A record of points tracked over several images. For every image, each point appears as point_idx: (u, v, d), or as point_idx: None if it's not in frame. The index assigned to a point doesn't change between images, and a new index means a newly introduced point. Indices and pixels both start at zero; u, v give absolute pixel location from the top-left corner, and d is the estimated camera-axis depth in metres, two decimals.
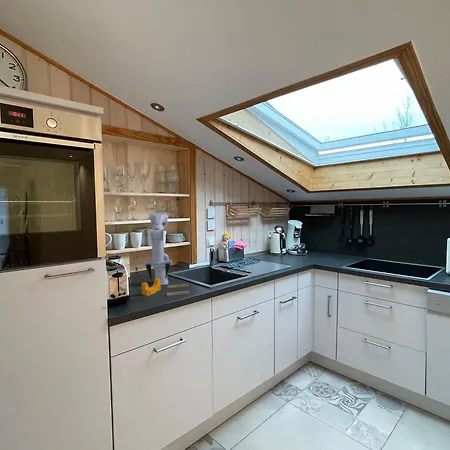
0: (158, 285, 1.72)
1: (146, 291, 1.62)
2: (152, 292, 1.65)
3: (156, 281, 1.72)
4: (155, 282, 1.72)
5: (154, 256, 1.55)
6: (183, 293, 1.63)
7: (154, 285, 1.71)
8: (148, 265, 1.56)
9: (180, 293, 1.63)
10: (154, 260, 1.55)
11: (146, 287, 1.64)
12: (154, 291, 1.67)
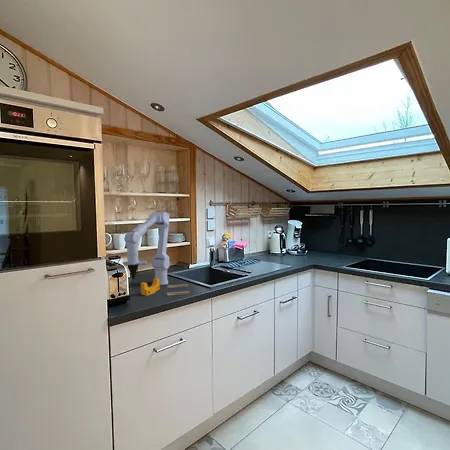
0: (157, 285, 1.72)
1: (145, 291, 1.63)
2: (151, 292, 1.66)
3: (155, 281, 1.72)
4: (154, 282, 1.72)
5: (129, 257, 1.63)
6: (183, 293, 1.63)
7: (153, 285, 1.71)
8: None
9: (180, 293, 1.63)
10: (129, 261, 1.63)
11: (145, 287, 1.64)
12: (153, 291, 1.67)
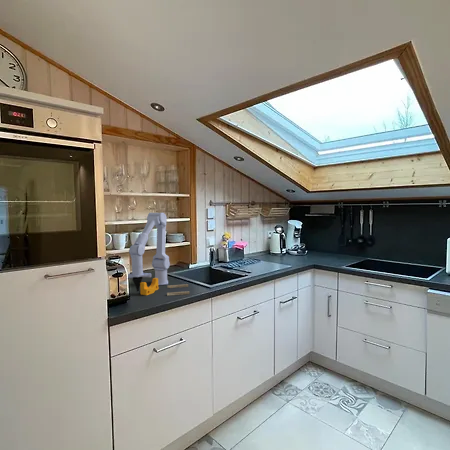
0: (156, 284, 1.73)
1: (145, 290, 1.63)
2: (151, 291, 1.66)
3: (154, 280, 1.72)
4: (153, 281, 1.73)
5: (133, 270, 1.64)
6: (183, 293, 1.63)
7: (152, 284, 1.72)
8: None
9: (180, 293, 1.63)
10: (133, 273, 1.64)
11: (145, 286, 1.64)
12: (153, 290, 1.67)
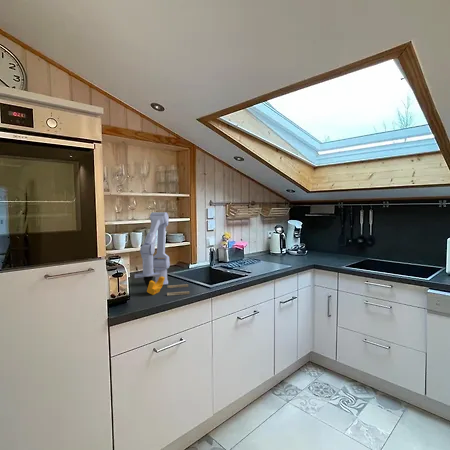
0: (161, 283, 1.73)
1: (153, 290, 1.63)
2: (157, 291, 1.66)
3: (161, 279, 1.72)
4: (159, 280, 1.72)
5: (144, 269, 1.64)
6: (183, 293, 1.63)
7: (158, 283, 1.71)
8: (139, 277, 1.66)
9: (180, 293, 1.63)
10: (144, 273, 1.65)
11: (153, 286, 1.64)
12: (158, 290, 1.68)
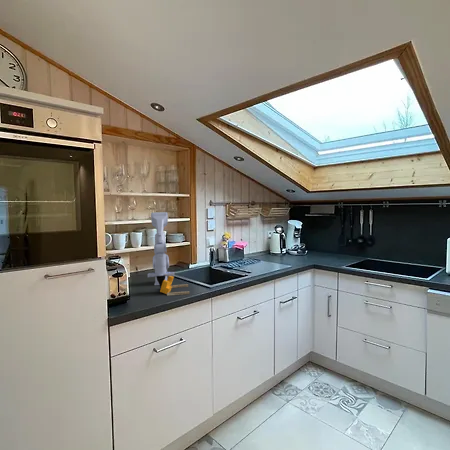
0: (171, 283, 1.74)
1: (167, 289, 1.64)
2: (169, 290, 1.68)
3: (170, 279, 1.74)
4: (169, 279, 1.73)
5: (157, 268, 1.66)
6: (183, 293, 1.63)
7: (168, 282, 1.72)
8: None
9: (180, 293, 1.63)
10: (157, 272, 1.66)
11: (167, 285, 1.65)
12: (170, 289, 1.69)
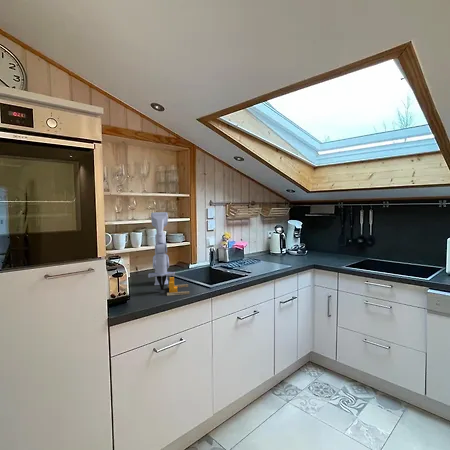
0: None
1: (175, 289, 1.65)
2: None
3: (172, 280, 1.74)
4: (171, 281, 1.74)
5: (158, 268, 1.66)
6: (183, 293, 1.63)
7: None
8: None
9: (180, 293, 1.63)
10: (158, 272, 1.66)
11: (173, 286, 1.66)
12: None
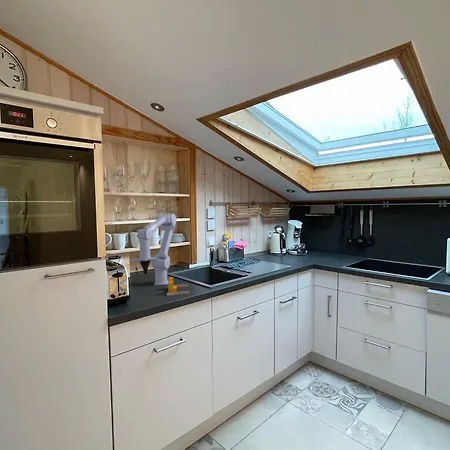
0: None
1: (174, 289, 1.65)
2: None
3: (171, 280, 1.74)
4: (170, 281, 1.74)
5: (141, 253, 1.69)
6: (183, 293, 1.63)
7: None
8: None
9: (180, 293, 1.63)
10: (141, 257, 1.69)
11: None
12: None
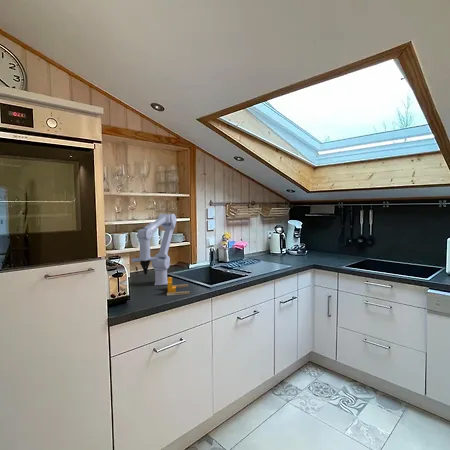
0: None
1: (174, 289, 1.65)
2: None
3: (170, 280, 1.74)
4: (169, 281, 1.74)
5: (141, 253, 1.69)
6: (183, 293, 1.63)
7: None
8: None
9: (180, 293, 1.63)
10: (141, 257, 1.69)
11: None
12: None
